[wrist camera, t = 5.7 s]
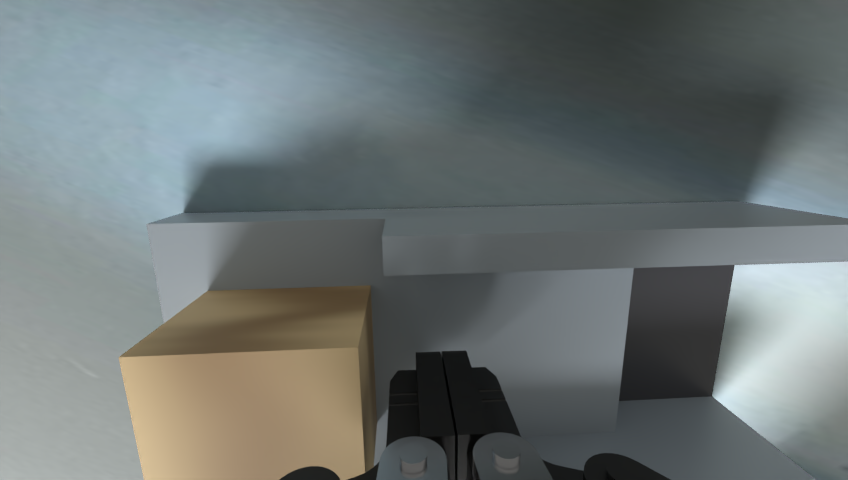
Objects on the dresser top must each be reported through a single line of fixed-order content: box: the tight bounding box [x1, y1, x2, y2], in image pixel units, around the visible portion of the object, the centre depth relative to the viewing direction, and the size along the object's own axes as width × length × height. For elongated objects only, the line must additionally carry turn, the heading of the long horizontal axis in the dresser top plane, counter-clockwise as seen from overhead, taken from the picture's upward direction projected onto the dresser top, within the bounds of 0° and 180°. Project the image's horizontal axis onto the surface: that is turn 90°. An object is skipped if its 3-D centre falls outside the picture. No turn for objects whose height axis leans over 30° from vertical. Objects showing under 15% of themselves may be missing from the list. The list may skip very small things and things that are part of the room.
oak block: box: [119, 285, 377, 480], centre depth 11 cm, size 5×5×4 cm
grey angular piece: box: [147, 201, 848, 480], centre depth 13 cm, size 20×9×4 cm, turn 91°
